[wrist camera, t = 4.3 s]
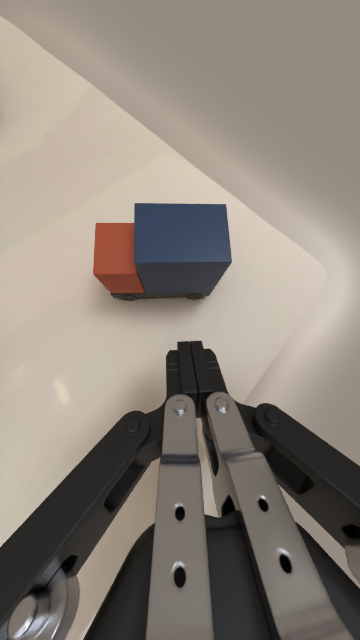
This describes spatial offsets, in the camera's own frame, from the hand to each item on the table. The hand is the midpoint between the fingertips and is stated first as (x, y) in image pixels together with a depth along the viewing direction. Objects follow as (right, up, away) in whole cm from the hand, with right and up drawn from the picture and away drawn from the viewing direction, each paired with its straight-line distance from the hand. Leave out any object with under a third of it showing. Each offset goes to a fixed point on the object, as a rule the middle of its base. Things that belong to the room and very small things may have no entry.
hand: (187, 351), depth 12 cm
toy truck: (-3, +7, +11) cm, 13 cm away
